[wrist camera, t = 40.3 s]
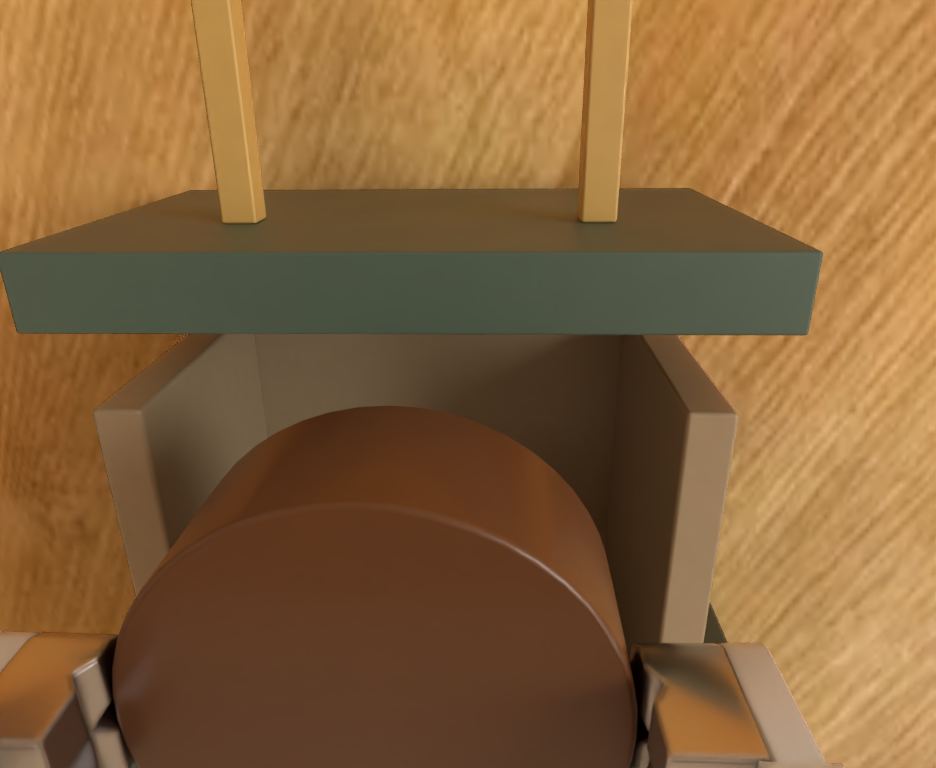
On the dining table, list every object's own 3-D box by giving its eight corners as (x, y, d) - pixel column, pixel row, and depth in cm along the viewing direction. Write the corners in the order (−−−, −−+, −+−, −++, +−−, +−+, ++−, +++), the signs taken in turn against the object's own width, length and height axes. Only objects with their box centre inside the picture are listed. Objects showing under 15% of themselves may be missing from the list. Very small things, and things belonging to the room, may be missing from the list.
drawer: (146, -83, 14) (-136, -226, 8) (722, -93, 14) (919, -252, 7) (260, 648, 21) (163, 882, 15) (639, 655, 21) (703, 897, 15)
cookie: (109, 521, 10) (-3, 644, 8) (476, 321, 9) (465, 401, 6) (346, 786, 12) (309, 947, 10) (678, 658, 10) (725, 812, 8)
